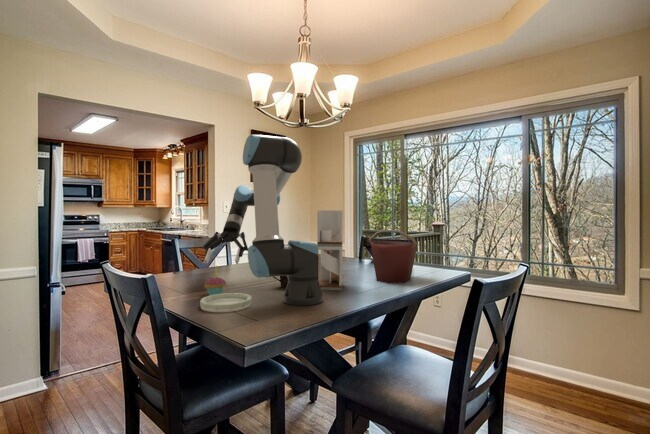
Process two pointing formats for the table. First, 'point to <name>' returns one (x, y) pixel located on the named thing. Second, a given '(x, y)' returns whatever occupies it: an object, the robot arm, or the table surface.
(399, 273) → the bucket
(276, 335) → the table surface
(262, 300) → the table surface
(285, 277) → the coffee mug
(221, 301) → the rimmed plate
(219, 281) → the cupcake
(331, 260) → the display case
